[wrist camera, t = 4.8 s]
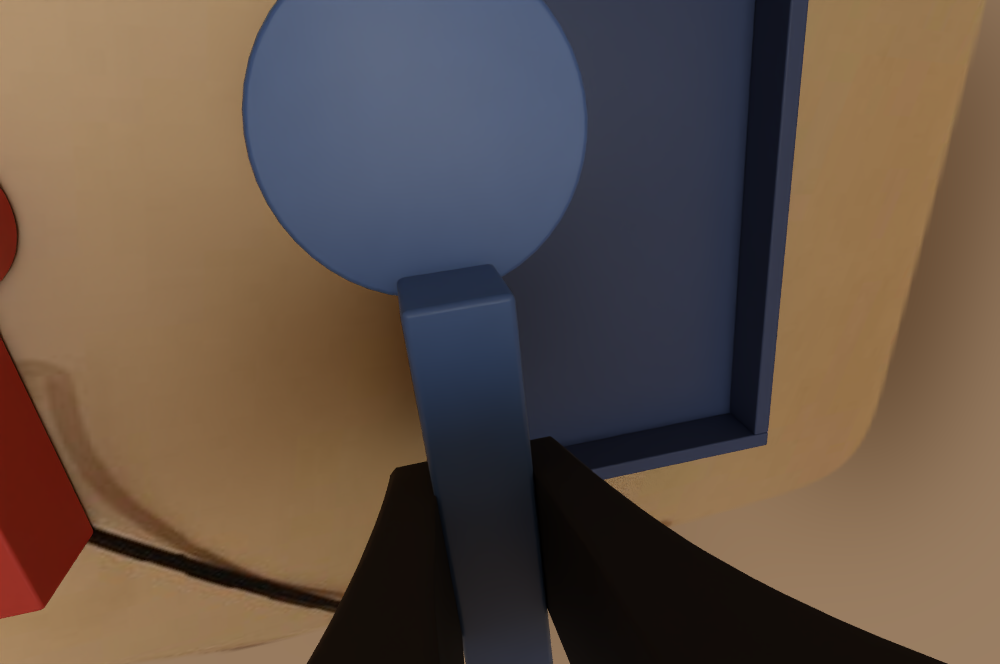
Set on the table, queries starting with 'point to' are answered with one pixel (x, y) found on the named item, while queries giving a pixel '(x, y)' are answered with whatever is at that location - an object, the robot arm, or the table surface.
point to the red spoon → (30, 486)
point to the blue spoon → (435, 237)
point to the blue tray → (666, 234)
